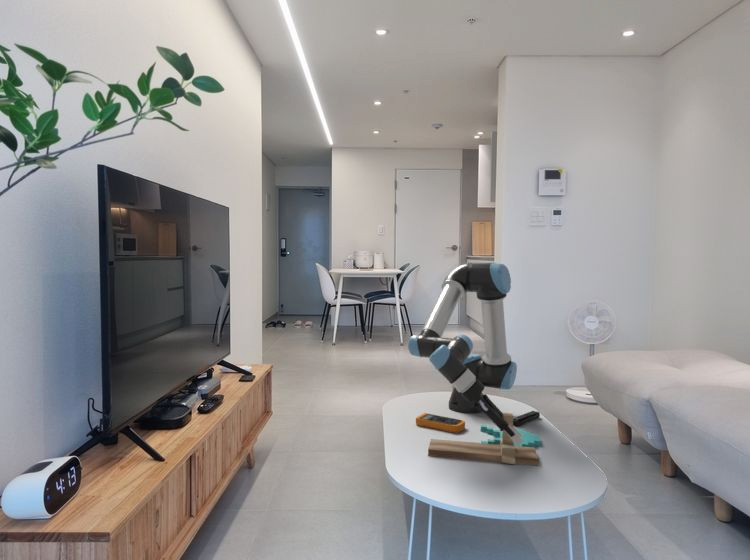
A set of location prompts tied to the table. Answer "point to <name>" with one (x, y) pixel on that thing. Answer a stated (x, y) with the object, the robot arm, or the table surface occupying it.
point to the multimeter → (440, 422)
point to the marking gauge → (507, 442)
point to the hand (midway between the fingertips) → (519, 440)
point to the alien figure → (528, 441)
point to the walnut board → (479, 451)
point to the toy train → (525, 418)
